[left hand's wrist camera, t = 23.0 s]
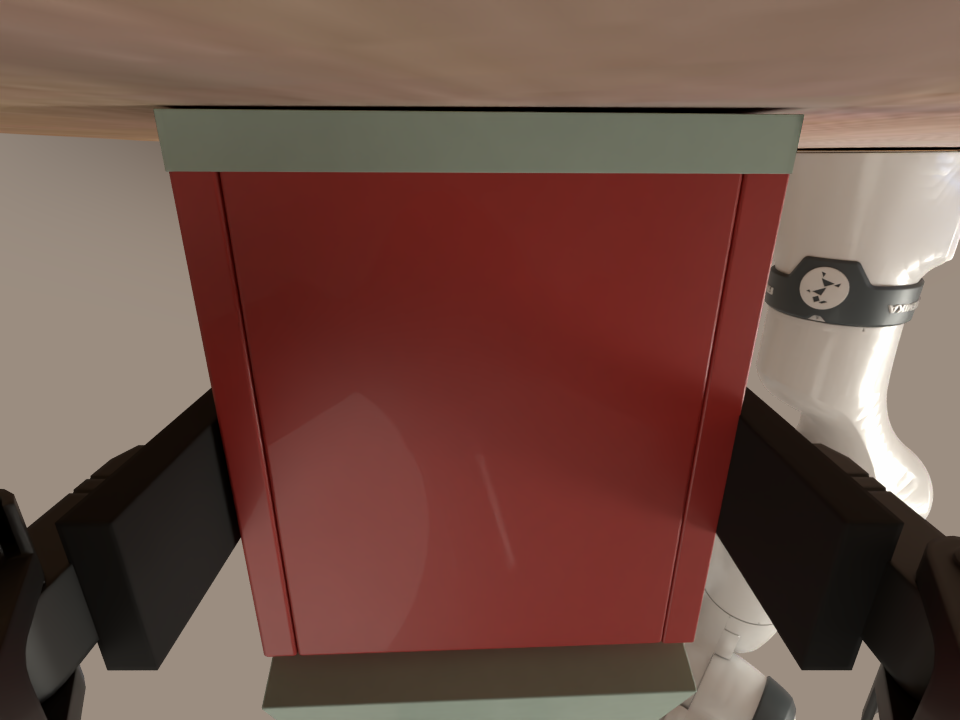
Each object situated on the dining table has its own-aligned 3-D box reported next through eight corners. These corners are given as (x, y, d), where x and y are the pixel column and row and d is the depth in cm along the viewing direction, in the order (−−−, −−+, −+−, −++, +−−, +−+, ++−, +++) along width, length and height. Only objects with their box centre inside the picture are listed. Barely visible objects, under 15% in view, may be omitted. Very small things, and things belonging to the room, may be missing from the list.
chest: (591, 141, 20) (572, 395, 24) (341, 140, 20) (362, 398, 24) (804, 114, 8) (695, 643, 12) (153, 108, 7) (262, 659, 11)
